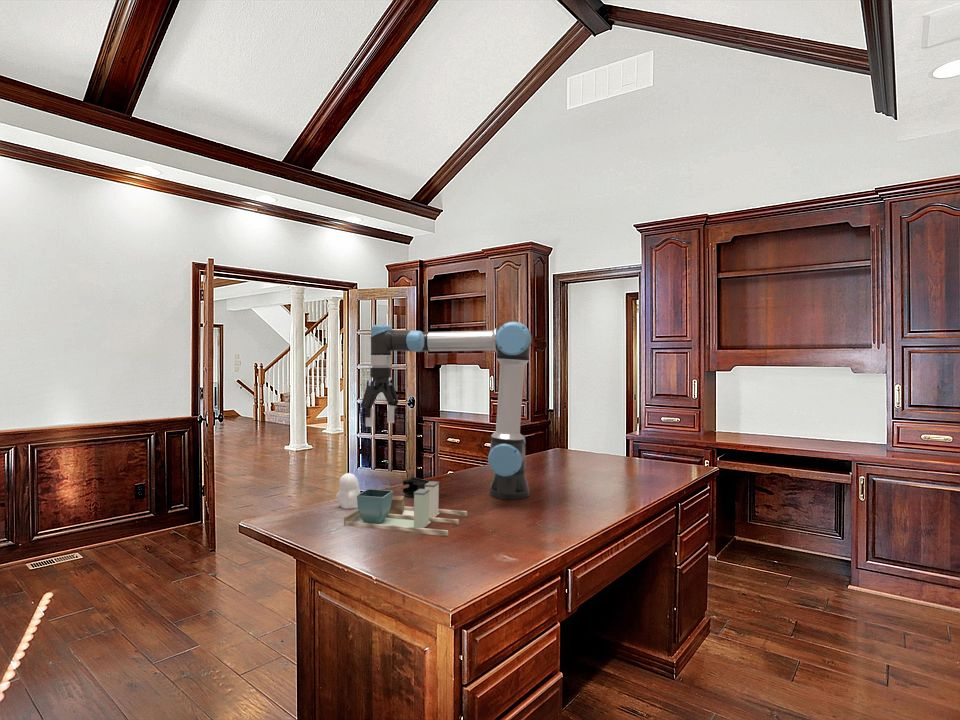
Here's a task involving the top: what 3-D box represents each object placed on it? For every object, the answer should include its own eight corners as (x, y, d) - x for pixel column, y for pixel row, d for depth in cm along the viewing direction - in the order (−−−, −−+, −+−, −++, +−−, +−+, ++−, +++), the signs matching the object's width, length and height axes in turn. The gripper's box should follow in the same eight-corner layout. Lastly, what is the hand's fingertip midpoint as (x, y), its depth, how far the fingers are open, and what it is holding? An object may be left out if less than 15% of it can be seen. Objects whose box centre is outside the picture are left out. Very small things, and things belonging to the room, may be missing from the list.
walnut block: (403, 511, 186) (404, 496, 186) (402, 515, 181) (402, 499, 181) (388, 510, 186) (389, 495, 186) (386, 515, 181) (386, 499, 181)
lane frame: (467, 515, 183) (467, 506, 183) (447, 536, 162) (447, 526, 162) (374, 508, 191) (374, 499, 191) (343, 526, 170) (343, 516, 170)
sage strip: (431, 523, 174) (431, 487, 174) (420, 532, 165) (421, 495, 165) (366, 517, 180) (366, 483, 180) (352, 526, 170) (352, 489, 170)
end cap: (434, 498, 206) (434, 479, 206) (419, 501, 201) (419, 482, 201) (416, 493, 213) (417, 475, 213) (401, 496, 208) (402, 478, 208)
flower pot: (382, 526, 169) (383, 497, 169) (355, 524, 170) (355, 495, 170) (393, 518, 177) (393, 490, 177) (367, 516, 179) (367, 488, 179)
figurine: (334, 509, 189) (334, 473, 189) (349, 504, 196) (349, 469, 196) (350, 512, 186) (350, 476, 186) (365, 506, 193) (365, 472, 193)
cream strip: (440, 514, 184) (440, 481, 184) (432, 521, 176) (432, 486, 176) (377, 509, 189) (378, 476, 189) (367, 515, 182) (368, 481, 182)
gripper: (391, 366, 219) (390, 420, 219) (351, 367, 196) (350, 427, 196) (407, 366, 216) (407, 421, 216) (368, 367, 193) (368, 428, 193)
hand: (380, 424), depth 206 cm, fingers open, 13 cm apart
